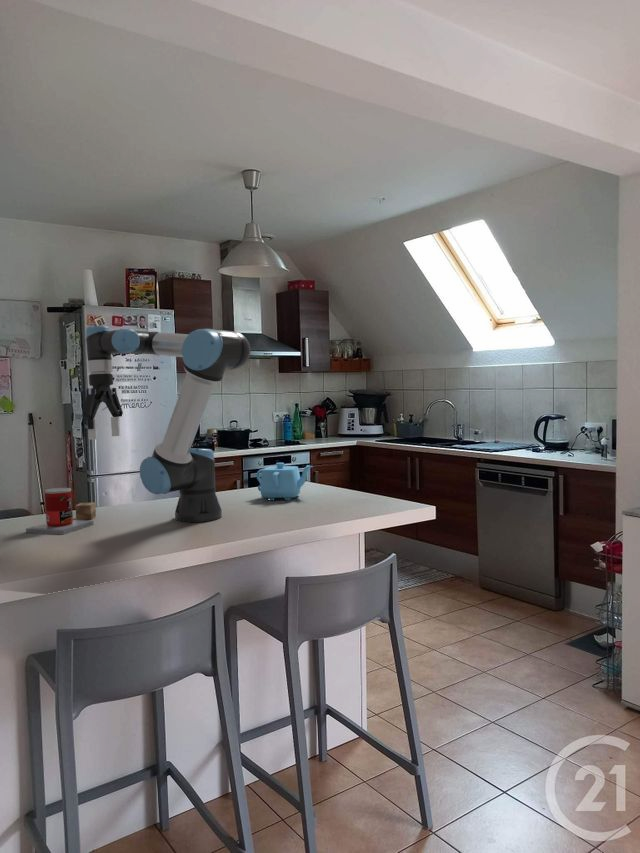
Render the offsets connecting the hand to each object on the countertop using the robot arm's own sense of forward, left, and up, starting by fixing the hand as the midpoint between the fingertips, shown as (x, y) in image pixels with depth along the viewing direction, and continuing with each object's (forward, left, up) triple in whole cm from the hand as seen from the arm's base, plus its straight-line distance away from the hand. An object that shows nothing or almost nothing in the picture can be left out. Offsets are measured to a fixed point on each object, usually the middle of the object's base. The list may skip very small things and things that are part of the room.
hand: (104, 437), depth 221 cm
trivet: (+6, +17, -27) cm, 32 cm away
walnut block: (+8, +2, -27) cm, 28 cm away
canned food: (+6, +16, -26) cm, 31 cm away
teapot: (-45, -46, -27) cm, 70 cm away
